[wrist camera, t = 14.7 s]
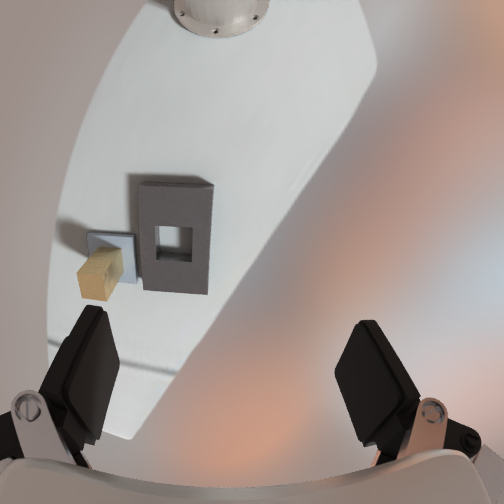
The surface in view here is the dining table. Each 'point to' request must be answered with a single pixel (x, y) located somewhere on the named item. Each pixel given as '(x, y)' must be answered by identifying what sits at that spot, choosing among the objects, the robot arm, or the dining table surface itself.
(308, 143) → the dining table surface
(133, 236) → the mat
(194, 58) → the dining table surface
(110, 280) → the brass block
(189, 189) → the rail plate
